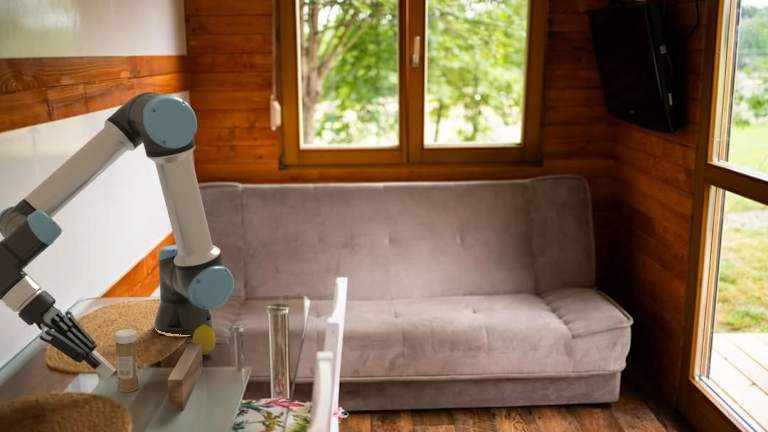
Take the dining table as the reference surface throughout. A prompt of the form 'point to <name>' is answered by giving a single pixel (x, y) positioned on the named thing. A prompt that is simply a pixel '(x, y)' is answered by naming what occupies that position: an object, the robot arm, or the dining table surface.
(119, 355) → the sprinkles bottle
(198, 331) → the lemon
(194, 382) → the walnut board
